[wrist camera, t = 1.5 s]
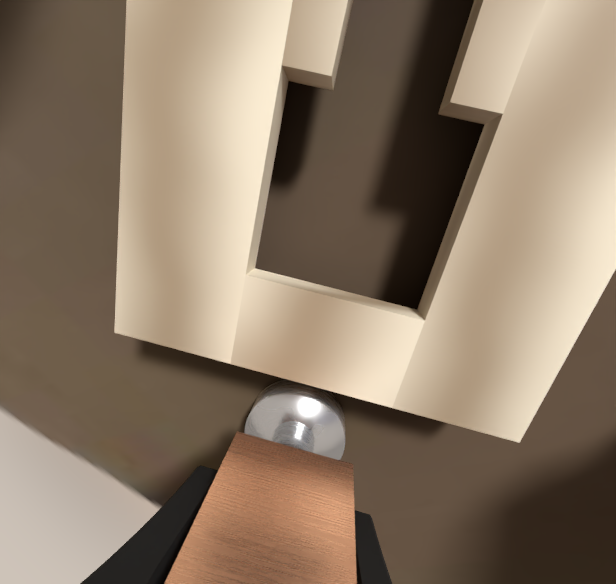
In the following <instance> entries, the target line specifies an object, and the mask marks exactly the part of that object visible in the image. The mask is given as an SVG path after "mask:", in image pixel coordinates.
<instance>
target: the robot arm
mask: <svg viewBox="0 0 616 584" xmlns="http://www.w3.org/2000/svg"><path fill="white" fill-rule="evenodd" d="M217 472H218V470H214V469H211V468H207V467H204V466H199V467H197V468H196V469H195V471H194V472H193V473H192V474H191V476H190V477H189V478H188V479H187V480H186V481H185V483H184V484H183V485H182V486H181V487H180V488H179V489H178V491H177V492H176V493H175V494H174V495H173V496H172V497H171V498H170V499H169V500H168V501H167V502H166V503H165V505H164V506H163V507H162V508H161V509H160V510H159V511H158V512H157V513H156V514H155V515H154V516H153V517H152V518H151V519H150V520H149V521H148V522H147V523H146V524H145V525H144V526H143V527H142V528H141V529H140V530H139V531H138V532H137V533H136V534H135V535H134V536H133V537H132V538H130V539H129V541H127V542H126V543H125V544H124V545H123V546H122V547H121V548H120V549H119V550H118V551H117V552H116V553H114V554H113V555H112V556H111V557H110V558H109V559H108V560H107V561H106V562H105V563H104V564H102V565H101V566H100V567H99V568H98V569H97V570H96V571H94V572H93V573H92V574H91V575H90V576H89V577H88V578H87V579H85V580H84V581H83V582H82V583H81V584H164V583H165V581H166V579H167V577H168V575H169V573H170V571H171V569H172V567H173V564H174V562H175V560H176V558H177V556H178V554H179V552H180V550H181V548H182V546H183V543H184V541H185V539H186V537H187V535H188V533H189V531H190V529H191V527H192V525H193V523H194V520H195V518H196V516H197V514H198V512H199V510H200V508H201V506H202V504H203V502H204V499H205V497H206V495H207V493H208V491H209V489H210V487H211V485H212V483H213V481H214V479H215V476H216V474H217ZM354 513H355V544H356V575H357V584H392V582H391V579H390V576H389V573H388V570H387V567H386V564H385V561H384V558H383V554H382V551H381V548H380V545H379V542H378V538H377V535H376V531H375V528H374V524H373V521H372V518H371V516H370V515H369V514H365V513H362V512H359V511H355V510H354Z"/></svg>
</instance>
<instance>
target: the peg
mask: <svg viewBox="0 0 616 584" xmlns="http://www.w3.org/2000/svg"><path fill="white" fill-rule="evenodd" d="M344 448H345V416H344V412H343V409H342V407H341V405H340V403H339V401H338V400H337V399H336V397H335V396H334V395H333V394H332V393H331V392H330V391H328V390H324V389H321V388H317V387H313V386H310V385H306V384H302V383H299V382H295V381H291V380H288V379H285V380H281V381H277V382H275V383H273V384H271V385H269V386H268V387H266V388H265V389H264V390H263V391H262V392H261V393H260V394H259V396H258V397H257V399H256V401H255V403H254V405H253V407H252V410H251V412H250V414H249V416H248V418H247V421H246V424H245V433H241V432H236V435H235V437H234V439H233V441H232V443H231V445H230V447H229V449H228V451H227V453H226V455H225V458H224V460H223V462H222V464H221V466H220V468H219V470H218V472H217V474H216V476H215V479H214V481H213V483H212V485H211V487H210V489H209V491H208V493H207V495H206V497H205V499H204V502H203V504H202V506H201V508H200V510H199V512H198V514H197V516H196V518H195V520H194V523H193V525H192V527H191V529H190V531H189V533H188V535H187V537H186V539H185V541H184V543H183V546H182V548H181V550H180V552H179V554H178V556H177V558H176V560H175V562H174V564H173V567H172V569H171V571H170V573H169V575H168V577H167V579H166V581H165V583H164V584H357V575H356V544H355V513H354V482H353V464H351V463H347V462H344V461H340V459H341V457H342V455H343V452H344Z"/></svg>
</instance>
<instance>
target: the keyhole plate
mask: <svg viewBox="0 0 616 584" xmlns="http://www.w3.org/2000/svg"><path fill="white" fill-rule="evenodd" d="M352 3H353V0H127V7H126V34H125V61H124V88H123V115H122V143H121V170H120V197H119V224H118V252H117V279H116V306H115V333H119V334H122V335H126V336H130V337H133V338H137V339H141V340H144V341H148V342H152V343H155V344H159V345H163V346H166V347H170V348H174V349H177V350H181V351H185V352H188V353H192V354H196V355H199V356H203V357H207V358H210V359H214V360H218V361H221V362H225V363H229V364H232V365H236V366H240V367H243V368H247V369H251V370H254V371H258V372H262V373H265V374H269V375H273V376H277V377H280V378H284V379H288V380H291V381H295V382H299V383H302V384H306V385H310V386H313V387H317V388H321V389H324V390H328V391H332V392H335V393H339V394H343V395H346V396H350V397H354V398H357V399H361V400H365V401H368V402H372V403H376V404H379V405H383V406H387V407H390V408H394V409H398V410H401V411H405V412H409V413H412V414H416V415H420V416H423V417H427V418H431V419H435V420H438V421H442V422H446V423H449V424H453V425H457V426H460V427H464V428H468V429H471V430H475V431H479V432H482V433H486V434H490V435H493V436H497V437H501V438H504V439H508V440H512V441H515V442H520V441H521V439H522V437H523V435H524V433H525V432H526V430H527V428H528V426H529V424H530V422H531V421H532V419H533V417H534V415H535V413H536V412H537V410H538V408H539V406H540V404H541V403H542V401H543V399H544V397H545V395H546V394H547V392H548V390H549V388H550V386H551V385H552V383H553V381H554V379H555V377H556V376H557V374H558V372H559V370H560V368H561V367H562V365H563V363H564V361H565V359H566V358H567V356H568V354H569V352H570V350H571V349H572V347H573V345H574V343H575V341H576V340H577V338H578V336H579V334H580V332H581V331H582V329H583V327H584V325H585V323H586V322H587V320H588V318H589V316H590V314H591V313H592V311H593V309H594V307H595V305H596V304H597V302H598V300H599V298H600V296H601V295H602V293H603V291H604V289H605V287H606V285H607V284H608V282H609V280H610V278H611V276H612V275H613V273H614V271H615V269H616V0H474V3H473V6H472V9H471V12H470V16H469V19H468V22H467V25H466V28H465V31H464V34H463V38H462V41H461V44H460V47H459V50H458V53H457V56H456V59H455V63H454V66H453V69H452V72H451V75H450V78H449V81H448V85H447V88H446V91H445V94H444V97H443V100H442V103H441V106H440V110H439V113H438V114H440V115H444V116H449V117H453V118H458V119H462V120H467V121H471V122H476V123H480V124H485V125H484V128H483V131H482V133H481V136H480V139H479V141H478V144H477V147H476V150H475V152H474V155H473V158H472V161H471V163H470V166H469V169H468V172H467V174H466V177H465V180H464V183H463V185H462V188H461V191H460V194H459V196H458V199H457V202H456V205H455V207H454V210H453V213H452V216H451V218H450V221H449V224H448V227H447V229H446V232H445V235H444V238H443V240H442V243H441V246H440V249H439V251H438V254H437V257H436V260H435V262H434V265H433V268H432V271H431V273H430V276H429V279H428V282H427V284H426V287H425V290H424V293H423V295H422V298H421V301H420V304H419V306H418V309H417V310H416V309H412V308H409V307H405V306H401V305H397V304H393V303H389V302H385V301H381V300H377V299H373V298H369V297H365V296H361V295H358V294H354V293H350V292H346V291H342V290H338V289H334V288H330V287H326V286H322V285H318V284H314V283H311V282H307V281H303V280H299V279H295V278H291V277H287V276H283V275H279V274H275V273H271V272H267V271H263V270H260V269H256V268H255V265H256V260H257V254H258V249H259V243H260V238H261V232H262V227H263V221H264V215H265V210H266V204H267V199H268V193H269V188H270V182H271V177H272V171H273V165H274V160H275V154H276V149H277V143H278V138H279V132H280V127H281V121H282V115H283V110H284V104H285V99H286V93H287V88H288V82H289V81H291V82H296V83H300V84H305V85H309V86H314V87H318V88H323V89H327V90H332V91H333V89H334V84H335V80H336V75H337V71H338V66H339V62H340V57H341V53H342V48H343V44H344V39H345V35H346V30H347V25H348V21H349V16H350V12H351V7H352Z"/></svg>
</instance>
